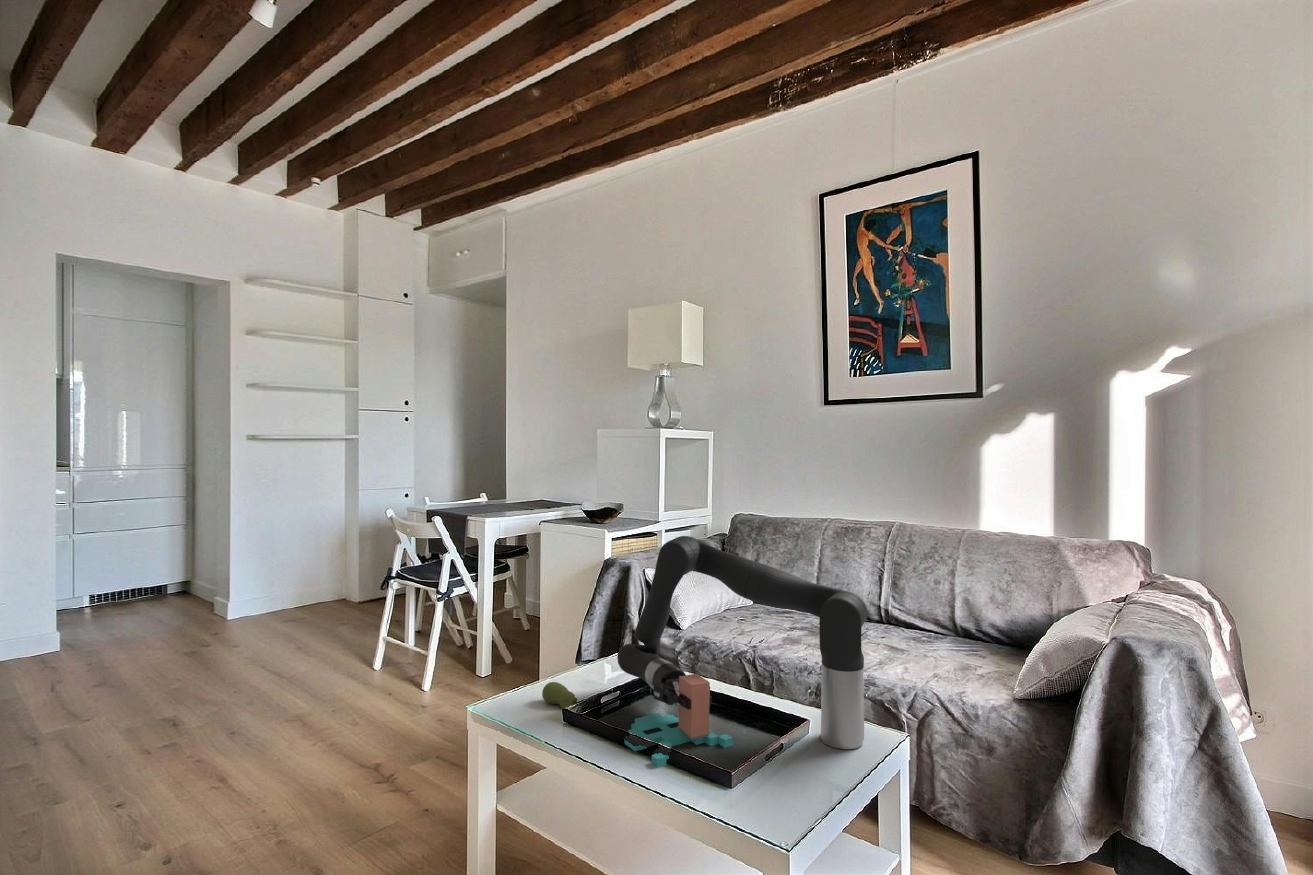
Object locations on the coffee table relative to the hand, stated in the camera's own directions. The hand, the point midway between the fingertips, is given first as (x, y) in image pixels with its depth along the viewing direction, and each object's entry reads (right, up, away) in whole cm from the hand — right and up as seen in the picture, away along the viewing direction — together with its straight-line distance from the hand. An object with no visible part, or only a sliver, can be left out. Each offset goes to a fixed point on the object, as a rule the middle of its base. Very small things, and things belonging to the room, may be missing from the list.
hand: (700, 703), depth 154 cm
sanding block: (-1, -7, +3) cm, 8 cm away
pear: (-34, -9, +23) cm, 42 cm away
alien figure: (-7, -10, +4) cm, 13 cm away
